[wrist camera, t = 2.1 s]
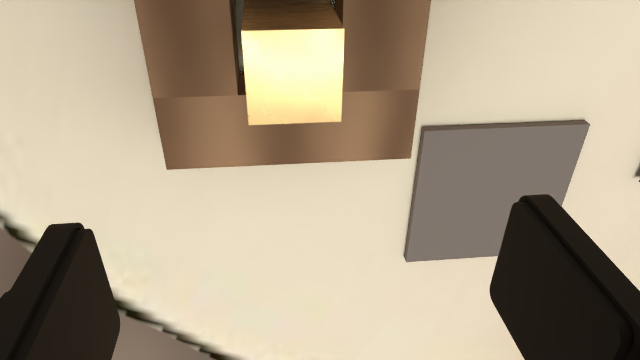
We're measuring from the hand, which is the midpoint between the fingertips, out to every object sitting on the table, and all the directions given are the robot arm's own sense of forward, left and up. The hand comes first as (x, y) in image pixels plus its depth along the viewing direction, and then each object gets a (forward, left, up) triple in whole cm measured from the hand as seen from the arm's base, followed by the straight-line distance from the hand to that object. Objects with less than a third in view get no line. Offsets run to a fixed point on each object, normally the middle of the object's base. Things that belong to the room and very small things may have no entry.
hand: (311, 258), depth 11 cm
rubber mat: (-14, +12, -19) cm, 26 cm away
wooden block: (0, 0, -19) cm, 19 cm away
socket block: (0, 0, -19) cm, 19 cm away
